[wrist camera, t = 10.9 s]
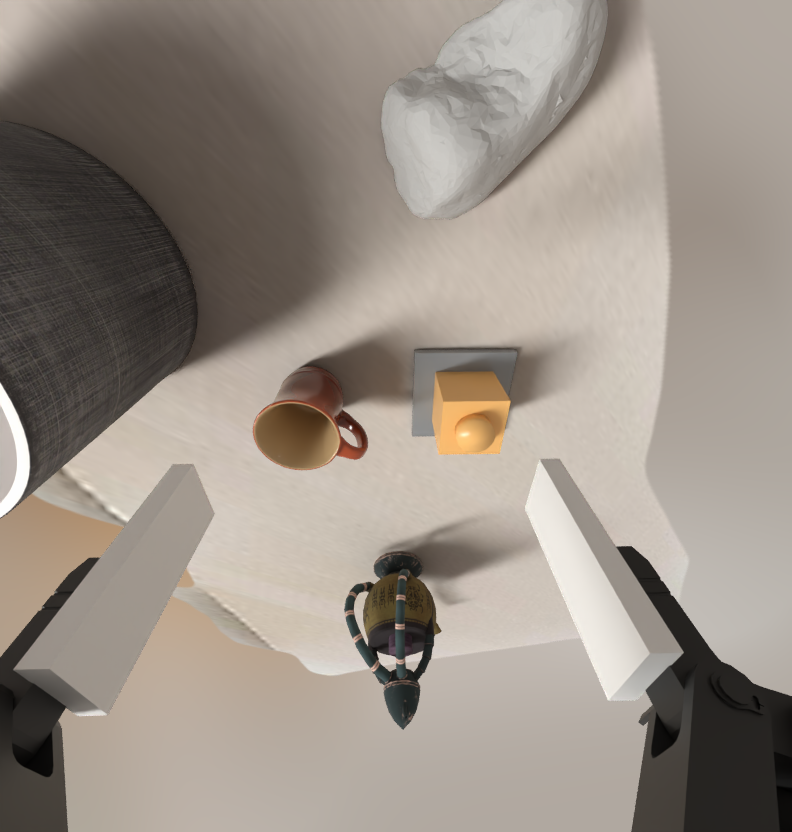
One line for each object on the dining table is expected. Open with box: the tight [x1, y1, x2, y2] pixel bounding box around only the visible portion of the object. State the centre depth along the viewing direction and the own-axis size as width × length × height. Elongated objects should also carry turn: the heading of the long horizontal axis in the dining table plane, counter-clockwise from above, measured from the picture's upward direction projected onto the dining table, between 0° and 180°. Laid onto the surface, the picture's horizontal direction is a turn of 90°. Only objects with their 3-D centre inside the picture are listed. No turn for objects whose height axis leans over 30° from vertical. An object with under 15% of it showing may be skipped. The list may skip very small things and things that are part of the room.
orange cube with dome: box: [432, 371, 511, 454], centre depth 40 cm, size 7×7×9 cm
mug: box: [253, 366, 368, 470], centre depth 40 cm, size 12×9×10 cm
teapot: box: [344, 552, 441, 729], centre depth 56 cm, size 12×25×23 cm, turn 28°
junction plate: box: [412, 349, 518, 436], centre depth 42 cm, size 12×12×6 cm
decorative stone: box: [381, 0, 608, 219], centre depth 27 cm, size 17×10×10 cm
